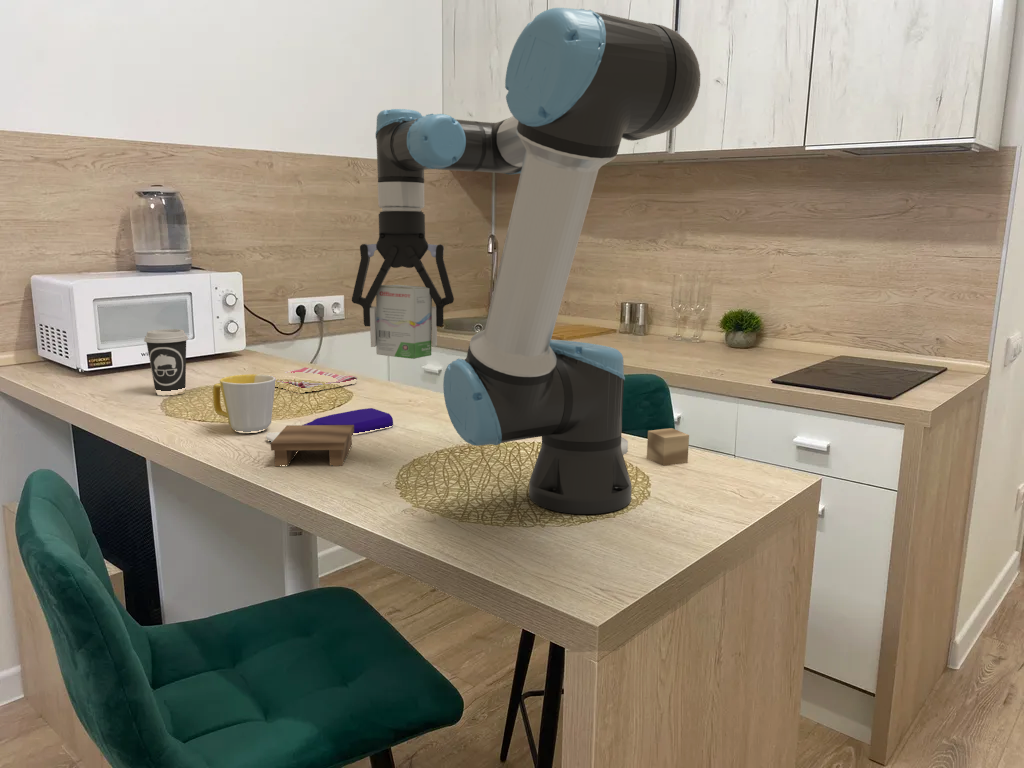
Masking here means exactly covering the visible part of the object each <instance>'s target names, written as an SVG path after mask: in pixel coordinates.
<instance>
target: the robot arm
mask: <svg viewBox="0 0 1024 768" xmlns="http://www.w3.org/2000/svg"><path fill="white" fill-rule="evenodd" d="M505 71H506V73H505V79H504V80H505V81H504V82H505V83H504V84H505V86H504V88H505V89H506V91H508V92H507V93H506V95H505V99H506V104H507V108H508V109H509V111H510V113H511V115H512V116H511V117H509V118H505V119H502V120H501V121H498V122H488V121H475V120H464V119H456V118H454V117H452V116H451V115H449V114H444V113H436V114H434V113H430V114H429V113H428V114H425V115H422V113H421V112H419V111H417V110H413V109H406V108H391V109H384V110H381V111H380V112H378V114H377V116H376V128H375V129H376V131H375V139H376V160H377V161H376V162H377V166H376V167H377V203H378V208H380V209H381V211H379V213H378V240H377V242H376V243H371V244H369V243H368V244H367V243H362V244H361V245H359V251H360V252H359V253H360V262H359V267H358V269H357V270H358V271H357V274H356V279H355V283H354V287H353V292H352V297H351V301H352V303H353V304H357V305H359V306H361V307H362V309H363V310H362V311H363V312H362V313H363V315H362V316H363V326H364V327H370V328H369V329H370V347H371V348H376V305H375V306H373V305H372V304H373V302H374V300H375V298H376V294H377V292H378V290H379V288H380V286H381V285H382V284H383V282H384V281H385V280H386V276H387V275H388V273H389V271H390V270H391V268H394V269H398V268H407V269H408V268H409V269H411V268H414V269H415V270H416V272H417V274H418V276H419V277H420V279H421V281H422V282H423V285H424V287H426V288H429V294H430V295H431V297H432V302H433V303H434V304H435V306H432V336H431V337H432V340H431V348H432V347H433V348H434V347H435V348H436V347H437V345H438V327H443V325H444V307H446V306H448V305H450V304H453V303H454V301H455V298H454V293H453V290H452V287H451V283H450V279H449V275H448V271H447V268H446V264H445V261H444V255H445V253H444V251H445V246H444V245H443V244H441V243H439V244H431V243H428V241H427V239H426V215H425V213H424V212H422V209H424V208H425V207H426V206H425V203H426V202H425V170H426V171H427V170H438V171H439V170H440V171H441V170H442V171H457V172H458V171H459V172H460V171H461V172H463V171H464V172H482V173H483V172H484V173H498V174H506V175H517V174H519V178H518V184H517V188H516V192H515V196H514V202H513V205H512V210H511V214H510V218H509V222H508V226H507V231H506V234H505V235H506V236H505V240H504V245H503V249H502V254H501V256H500V263H499V266H498V271H497V275H496V280H495V283H494V289H493V292H492V297H491V302H490V305H489V309H488V315H487V319H486V323H485V328H484V329H483V330H480V331H478V332H476V333H475V334H473V335H472V337H471V338H470V341H469V344H468V350H467V353H466V358H465V359H463V358H456V359H455V360H453V361H452V362H451V363H448V364H447V366H446V369H445V370H444V375H443V381H442V382H443V385H442V386H443V397H444V401H445V402H444V404H445V407H446V410H447V414H448V417H449V419H450V423H451V425H452V426H453V428H454V430H455V431H456V433H457V435H459V436H460V438H461V439H462V440H464V441H465V442H466V443H468V444H469V445H472V446H479V447H480V446H487V445H488V446H491V445H492V446H499V445H501V444H504V443H509V442H510V443H511V442H516V441H520V440H521V441H522V440H527V439H532V438H533V439H534V438H535V439H536V438H539V437H540V438H541V447H540V450H539V452H538V455H537V458H536V460H535V464H534V467H533V469H532V473H531V475H530V479H529V484H528V489H529V491H528V496H529V499H530V500H531V502H533V503H534V504H536V505H537V506H539V507H542V508H544V509H547V510H551V511H554V512H559V513H566V514H572V515H573V514H577V515H595V514H596V515H597V514H606V513H612V512H615V511H618V510H621V509H624V508H626V507H627V506H628V505H629V504H630V503H631V501H632V490H633V488H632V481H631V478H630V474H629V471H628V468H627V464H626V460H625V457H624V455H623V454H622V450H621V437H622V434H623V432H622V429H623V406H624V405H623V404H624V388H625V387H624V386H625V381H626V377H625V375H624V372H625V371H624V356H623V354H622V353H621V351H620V350H618V349H617V348H614V347H611V346H607V345H601V344H597V343H596V344H595V343H589V342H582V341H581V342H580V341H572V340H561V339H552V337H553V335H554V334H553V333H554V330H555V326H556V324H557V320H558V316H559V312H560V309H561V305H562V302H563V298H564V295H565V291H566V288H567V284H568V281H569V280H568V279H569V278H570V277H569V276H570V273H571V269H572V266H573V263H574V259H575V255H576V251H577V248H578V246H579V245H578V244H579V241H580V237H581V233H582V231H583V227H584V223H585V219H586V217H587V212H588V208H589V205H590V202H591V199H592V194H593V191H594V187H595V184H596V180H597V177H598V174H599V170H600V169H601V167H603V166H605V165H606V164H607V163H609V162H611V161H613V160H615V159H616V158H617V155H618V153H619V148H620V144H621V142H622V139H623V140H626V141H632V142H633V141H639V140H643V139H646V138H649V137H653V136H656V135H661V134H664V133H666V132H669V131H671V130H673V129H675V128H677V126H679V125H680V124H682V123H683V121H684V120H685V119H686V118H687V117H688V116H689V114H690V112H691V111H692V110H693V109H694V107H695V104H696V101H697V100H698V97H699V93H700V88H701V71H700V64H699V61H698V58H697V56H696V53H695V51H694V49H693V48H692V46H691V45H690V43H689V42H688V41H687V40H686V39H685V38H684V37H683V36H682V35H681V34H679V33H678V32H676V31H675V30H674V29H672V28H669V27H667V26H665V25H660V24H656V23H650V22H648V23H647V22H643V21H638V20H635V19H634V20H633V19H629V18H623V17H620V16H615V15H611V14H605V13H600V12H596V11H593V10H591V9H585V8H570V7H569V8H568V7H553V8H549V9H546V10H544V11H542V12H541V13H538V14H537V15H536V16H535V17H534V18H533V20H531V21H530V22H528V23H527V24H526V26H525V27H524V28H523V30H522V31H521V32H520V34H519V36H518V37H517V39H516V41H515V43H514V45H513V48H512V50H511V52H510V56H509V58H508V62H507V67H506V70H505ZM375 251H377V252H378V253H379V254H380V257H382V258H383V262H382V264H381V267H380V268H379V270H378V272H377V274H376V276H375V279H374V280H373V282H372V284H371V286H370V288H369V290H368V292H367V294H366V296H365V297H363V292H364V287H365V283H366V279H367V274H368V270H369V266H370V261H371V258H372V257H373V256H375V255H374V254H375V253H376V252H375ZM427 251H428V252H430V255H431V257H433V258H435V264H436V267H437V270H438V275H439V278H440V282H441V286H442V289H443V294H444V297H441V295H440V293H439V291H438V290H437V287H436V286H435V284H434V282H433V280H432V278H431V277H430V275H429V273H428V272H427V270H426V268H425V266H424V263H423V261H422V258H423V257H424V255H425V254H426V253H427Z"/></svg>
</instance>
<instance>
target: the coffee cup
mask: <svg viewBox="0 0 1024 768" xmlns="http://www.w3.org/2000/svg"><path fill="white" fill-rule="evenodd" d="M188 340H189V336H188V335H187V334H186V333H185V330H184V329H180V328H179V329H178V328H177V329H175V328H166V329H165V328H164V329H153V330H147V332H146V336H144V339H143V342H145V343H146V347H147V352H148V358H149V363H150V368H151V374H152V380H153V385H154V390H155V389H156V390H161V391H171V390H178V389H182V388H185V387H186V384H187V383H186V379H187V378H186V375H187V374H186V371H187V341H188Z"/></svg>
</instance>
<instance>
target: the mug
mask: <svg viewBox="0 0 1024 768" xmlns="http://www.w3.org/2000/svg"><path fill="white" fill-rule="evenodd" d="M275 381H276V378H275V377H273V376H270V375H269V374H259V373H258V374H255V373H253V374H251V373H250V374H237V375H229V376H226V377H222V378H221V379H220V380H219V383H215V384H214V385H213V388H212V400H213V407H214V411H215V413H216V414H217V415H219V416H222V417H225V418H227V420H228V425H229V427H230V428H231V429H232V430H233V431H234V430H236V431H243V432H251V431H259V430H263V429H266V428H267V429H268V428H269V427H270V425H271V424H272V420H273V419H272V418H273V408H274V399H275V391H276V390H275V389H276V388H275ZM221 394H222V398H223V403H224V407H225V411H224V410H223V409H222V405H221ZM267 429H266V430H267Z"/></svg>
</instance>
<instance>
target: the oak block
mask: <svg viewBox="0 0 1024 768" xmlns="http://www.w3.org/2000/svg"><path fill="white" fill-rule="evenodd" d="M689 444H690V435H689V434H688V433H685V432H682V431H680V430H678V429H676V428H672V427H671V428H670V427H669V428H661V429H654V430H652V429H651V430H647V443H646V445H647V446H646V459H648V460H650V461H652V462H654V463H656V464H658V465H660V466H662V467H665V466H673V465H681V464H687V463H689V462H688V461H689Z"/></svg>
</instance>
